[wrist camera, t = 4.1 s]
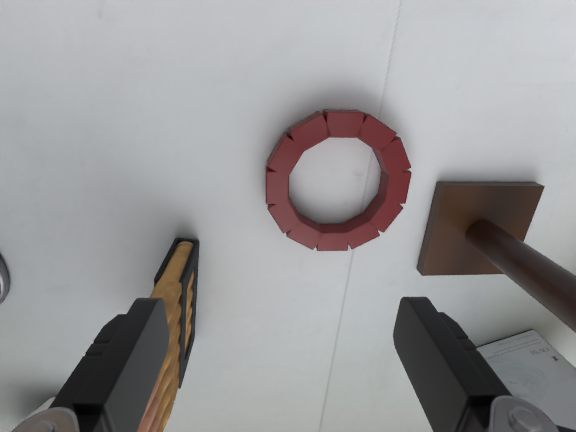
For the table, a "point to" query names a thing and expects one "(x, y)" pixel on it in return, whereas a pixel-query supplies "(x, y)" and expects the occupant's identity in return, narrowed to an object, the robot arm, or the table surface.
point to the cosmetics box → (535, 374)
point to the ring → (380, 208)
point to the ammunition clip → (174, 328)
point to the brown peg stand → (494, 241)
